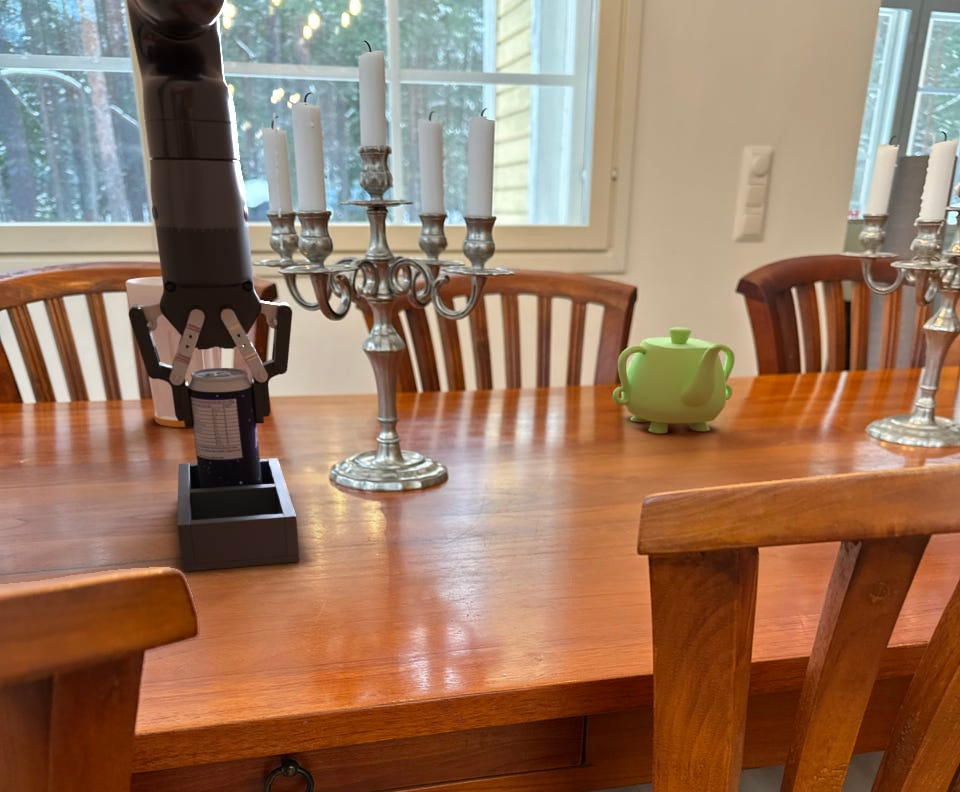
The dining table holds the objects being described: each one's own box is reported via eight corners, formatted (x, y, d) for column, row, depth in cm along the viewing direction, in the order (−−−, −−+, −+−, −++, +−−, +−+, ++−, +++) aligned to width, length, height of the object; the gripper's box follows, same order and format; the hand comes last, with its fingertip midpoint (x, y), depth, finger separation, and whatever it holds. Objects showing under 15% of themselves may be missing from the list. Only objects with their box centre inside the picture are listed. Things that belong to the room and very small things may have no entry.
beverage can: (273, 504, 85) (261, 375, 80) (215, 514, 82) (199, 381, 77) (249, 488, 89) (237, 364, 84) (193, 498, 86) (177, 370, 81)
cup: (127, 424, 117) (104, 281, 109) (182, 406, 126) (164, 274, 118) (199, 433, 114) (181, 287, 106) (250, 414, 123) (237, 279, 115)
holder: (183, 572, 74) (177, 525, 72) (184, 503, 89) (178, 463, 87) (299, 561, 76) (296, 516, 74) (280, 497, 92) (277, 457, 90)
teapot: (750, 426, 123) (766, 329, 117) (707, 445, 113) (721, 341, 107) (646, 408, 132) (655, 317, 126) (596, 425, 122) (605, 327, 116)
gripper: (285, 220, 80) (298, 410, 87) (113, 219, 76) (143, 417, 84) (293, 224, 73) (307, 429, 81) (106, 223, 70) (140, 438, 77)
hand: (224, 422), depth 82 cm, fingers closed on beverage can, 5 cm apart
